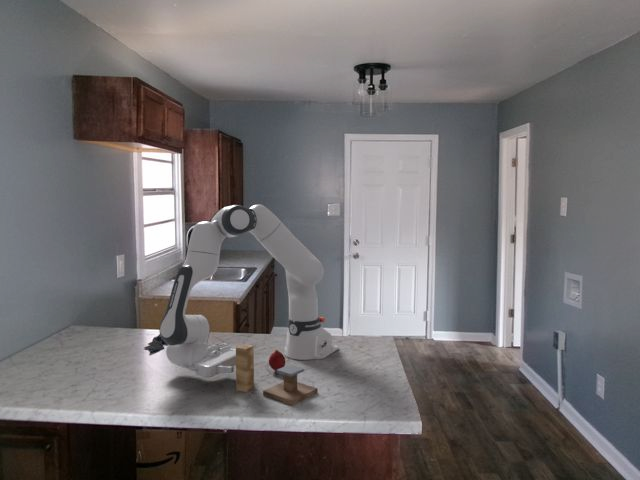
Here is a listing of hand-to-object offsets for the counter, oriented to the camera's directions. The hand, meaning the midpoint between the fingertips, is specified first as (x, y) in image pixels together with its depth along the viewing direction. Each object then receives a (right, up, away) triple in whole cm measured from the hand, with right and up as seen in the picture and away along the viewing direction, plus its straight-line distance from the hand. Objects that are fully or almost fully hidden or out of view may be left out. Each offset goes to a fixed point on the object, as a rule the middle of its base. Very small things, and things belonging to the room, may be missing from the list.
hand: (241, 365), depth 169 cm
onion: (+10, -6, +16) cm, 20 cm away
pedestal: (+16, -8, -4) cm, 18 cm away
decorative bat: (-39, -3, +49) cm, 63 cm away
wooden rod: (+1, -8, 0) cm, 8 cm away
